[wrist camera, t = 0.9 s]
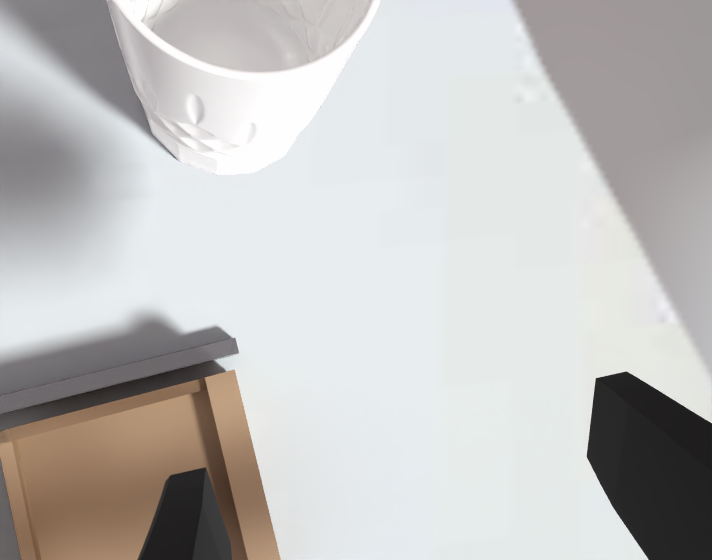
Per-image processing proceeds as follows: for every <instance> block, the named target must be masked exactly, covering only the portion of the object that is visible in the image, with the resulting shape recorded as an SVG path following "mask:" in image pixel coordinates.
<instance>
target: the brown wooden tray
mask: <svg viewBox="0 0 712 560" xmlns="http://www.w3.org/2000/svg"><path fill="white" fill-rule="evenodd" d="M0 458H1V463H2V468H3V473H4V478H5V482H6V487H7V492H8V497H9V502H10V507H11V512H12V517H13V522H14V527H15V532H16V536H17V541H18V546H19V551H20V556H21V560H137V559H138V557H139V555H140V552H141V550H142V547H143V544H144V542H145V539H146V537H147V534H148V531H149V529H150V526H151V523H152V521H153V518H154V515H155V512H156V509H157V506H158V503H159V500H160V497H161V494H162V491H163V488H164V484H165V481H166V480H167V479H168V478H169V476H170V475H173V474H178V473H182V472H186V471H191V470H195V469H200V468H204V467H206V469H207V472H208V475H209V478H210V481H211V484H212V487H213V490H214V493H215V497H216V500H217V503H218V506H219V509H220V512H221V515H222V518H223V521H224V524H225V527H226V530H227V533H228V536H229V539H230V542H231V552H232V560H280V556H279V552H278V547H277V543H276V539H275V535H274V531H273V527H272V523H271V519H270V514H269V510H268V506H267V502H266V498H265V494H264V490H263V485H262V481H261V477H260V473H259V469H258V465H257V461H256V456H255V452H254V448H253V444H252V440H251V436H250V432H249V427H248V423H247V419H246V415H245V411H244V407H243V403H242V399H241V394H240V390H239V386H238V382H237V378H236V374H235V370H231V371H227V372H224V373H220V374H216V375H212V376H208V377H205V378H201V379H197V380H193V381H189V382H186V383H182V384H178V385H174V386H170V387H166V388H163V389H159V390H155V391H151V392H147V393H143V394H140V395H136V396H132V397H128V398H124V399H120V400H117V401H113V402H109V403H105V404H101V405H97V406H94V407H90V408H86V409H82V410H78V411H74V412H70V413H67V414H63V415H59V416H55V417H51V418H47V419H44V420H40V421H36V422H32V423H28V424H24V425H21V426H17V427H13V428H9V429H5V430H1V431H0Z"/></svg>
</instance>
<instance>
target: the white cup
mask: <svg viewBox="0 0 712 560" xmlns="http://www.w3.org/2000/svg"><path fill="white" fill-rule="evenodd" d="M106 1H107V4H108V8H109V11H110V15H111V18H112V22H113V25H114V29H115V32H116V36H117V40H118V43H119V47H120V50H121V53H122V55H123V58H124V60H125V64H126V67H127V70H128V73H129V76H130V78H131V81H132V84H133V88H134V90H135V93H136V95H137V96H138V98H139V99H140V101H141V103H142V106H143V109H144V112H145V115H146V117H147V120H148V123H149V126H150V129H151V131H152V134H153V135H154V136H155V137H156V138H157V139H158V140H159V141H160V142H161V143H162V144H163V145H164V146H165V147H166V148H167V149H168V150H169V151H170V152H171V153H172V154H173V155H174V156H175V157H176V158H177V159H178V160H179V161H180V162H183V163H186V164H188V165H191V166H194V167H196V168H199V169H201V170H204V171H207V172H209V173H212V174H215V175H227V174H244V173H254V172H256V171H258V170H260V169H262V168H263V167H265V166H267V165H269V164H271V163H273V162H274V161H276V160H278V159H280V158H282V157H283V156H285V154H286V153H287V151H288V150H289V148H290V147H291V145H292V144H293V142H294V141H295V139H296V138H297V136H298V135H299V133H300V132H301V130H302V129H303V128H304V127H306V126H307V125H308V124H309V122H310V121H311V119H312V118H313V116H314V114H315V113H316V111H317V110H318V109H319V108H320V107H321V105H322V103H323V101H324V100H325V98H326V96H327V95H328V93H329V91H330V89H331V88H332V86H333V84H334V83H335V81H336V79H337V78H338V76H339V74H340V73H341V71H342V69H343V67H344V66H345V64H346V62H347V61H348V59H349V57H350V56H351V54H352V52H353V51H354V49H355V47H356V46H357V44H358V42H359V41H360V39H361V37H362V36H363V34H364V32H365V31H366V29H367V27H368V26H369V24H370V22H371V21H372V19H373V17H374V15H375V12H376V10H377V8H378V5H379V2H380V0H106Z"/></svg>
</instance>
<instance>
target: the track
mask: <svg viewBox="0 0 712 560" xmlns="http://www.w3.org/2000/svg"><path fill="white" fill-rule="evenodd" d="M238 353H239V351H238V347H237V343H236V339H235V338H232V339H228V340H224V341H220V342H215V343H211V344H207V345H203V346H199V347H195V348H191V349H187V350H183V351H179V352H175V353H171V354H167V355H163V356H159V357H155V358H151V359H147V360H143V361H138V362H134V363H130V364H126V365H122V366H118V367H114V368H110V369H106V370H102V371H98V372H94V373H90V374H86V375H82V376H78V377H74V378H70V379H66V380H62V381H57V382H53V383H49V384H45V385H41V386H37V387H33V388H29V389H25V390H21V391H17V392H13V393H9V394H5V395H1V396H0V414H3V413H7V412H11V411H15V410H19V409H23V408H27V407H31V406H35V405H39V404H43V403H47V402H51V401H54V400H58V399H62V398H66V397H70V396H74V395H78V394H82V393H86V392H90V391H94V390H98V389H102V388H106V387H110V386H113V385H117V384H121V383H125V382H129V381H133V380H137V379H141V378H145V377H149V376H153V375H157V374H161V373H165V372H169V371H173V370H176V369H180V368H184V367H188V366H192V365H196V364H200V363H204V362H208V361H212V360H216V359H220V358H224V357H228V356H232V355H235V354H238Z"/></svg>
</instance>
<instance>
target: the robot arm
mask: <svg viewBox="0 0 712 560" xmlns="http://www.w3.org/2000/svg"><path fill="white" fill-rule="evenodd" d="M587 458H588V460H589V462H590V464H591V466H592V468H593V470H594V472H595V474H596V476H597V478H598V480H599V482H600V484H601V486H602V488H603V489H604V491H605V493H606V495H607V497H608V499H609V500H610V502H611V504H612V506H613V508H614V509H615V511H616V512H617V514H618V515H619V517H620V518H621V520H622V521H623V523H624V524H625V525H626V527H627V528H628V530H629V531H630V533H631V534H632V536H633V537H634V539H635V540H636V542H637V543H638V545H639V546H640V547H641V549H642V550H643V552H644V553H645V555H646V556H647V558H648V559H649V560H712V423H710V422H708V421H707V420H705V419H703V418H702V417H700V416H699V415H697V414H695V413H694V412H692V411H690V410H689V409H687V408H686V407H684V406H682V405H681V404H679V403H677V402H676V401H674V400H673V399H671V398H669V397H668V396H666V395H665V394H663V393H661V392H660V391H658V390H656V389H655V388H653V387H652V386H650V385H648V384H647V383H645V382H643V381H642V380H640V379H638V378H637V377H635V376H633V375H632V374H630V373H628V372H622V373H618V374H613V375H609V376H604V377H600V378H596V382H595V390H594V399H593V407H592V416H591V425H590V433H589V442H588V450H587ZM137 560H232V552H231V542H230V539H229V536H228V533H227V530H226V527H225V524H224V521H223V518H222V515H221V512H220V509H219V506H218V503H217V500H216V497H215V493H214V490H213V487H212V484H211V481H210V478H209V475H208V472H207V469H206V467H204V468H200V469H195V470H191V471H186V472H182V473H178V474H173V475H170V476H169V478H168V479H167V480H166V481H165V484H164V488H163V491H162V494H161V497H160V500H159V503H158V506H157V509H156V512H155V515H154V518H153V521H152V523H151V526H150V529H149V531H148V534H147V537H146V539H145V542H144V544H143V547H142V550H141V552H140V555H139V557H138V559H137Z"/></svg>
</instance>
